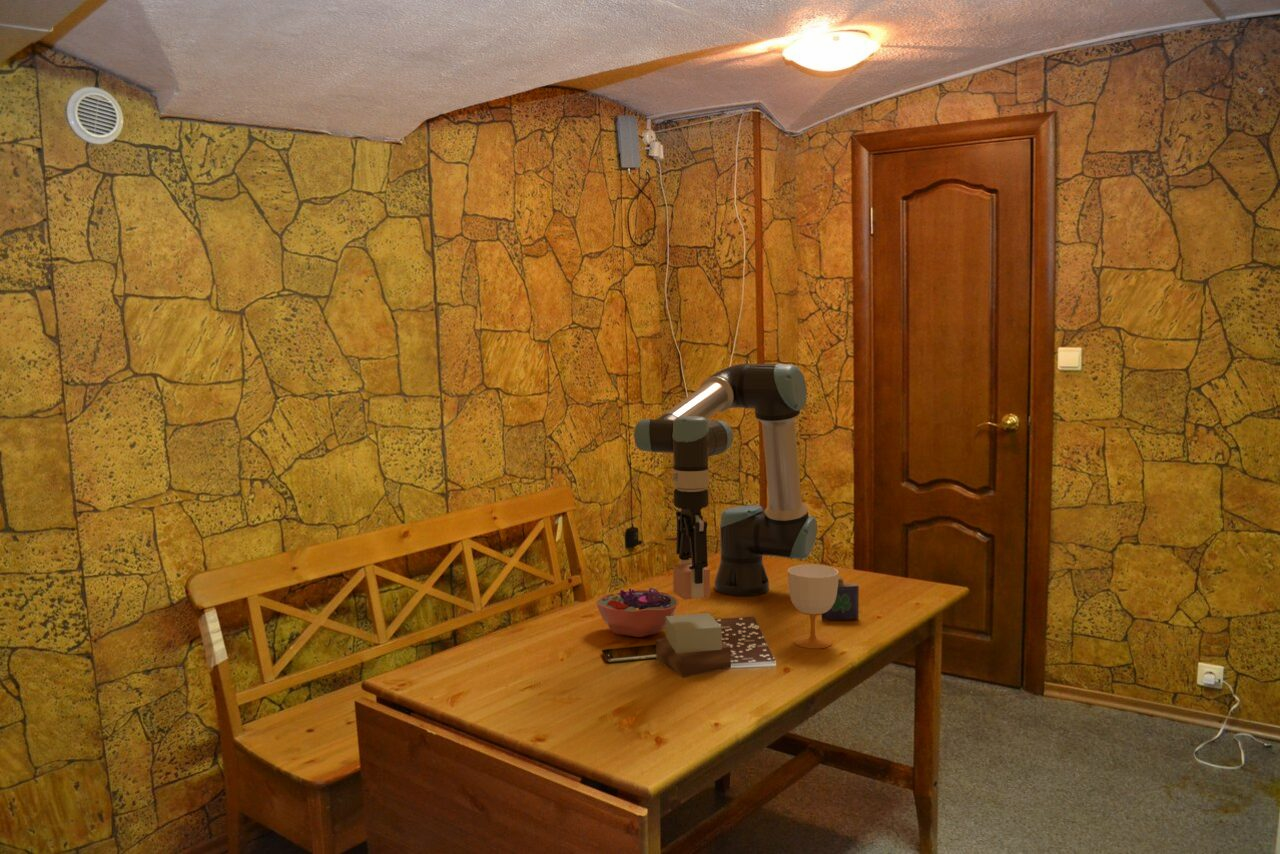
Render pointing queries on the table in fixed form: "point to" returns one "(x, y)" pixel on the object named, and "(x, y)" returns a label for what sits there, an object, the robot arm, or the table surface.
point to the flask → (844, 603)
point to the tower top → (693, 633)
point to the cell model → (637, 611)
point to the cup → (813, 597)
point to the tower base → (692, 659)
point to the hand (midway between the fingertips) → (691, 592)
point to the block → (688, 581)
